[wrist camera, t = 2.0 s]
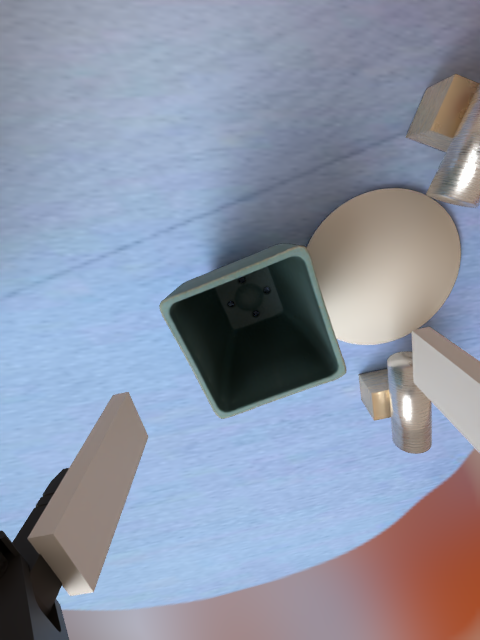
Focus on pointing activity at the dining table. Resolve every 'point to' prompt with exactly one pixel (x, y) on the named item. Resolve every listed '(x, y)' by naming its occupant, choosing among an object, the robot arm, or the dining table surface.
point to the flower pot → (255, 330)
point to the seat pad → (385, 264)
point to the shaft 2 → (452, 138)
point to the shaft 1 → (399, 403)
